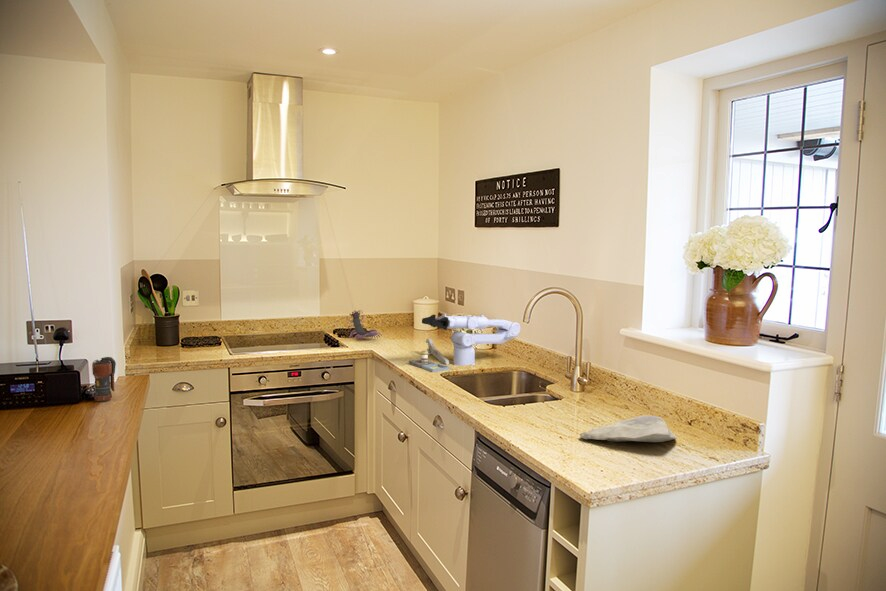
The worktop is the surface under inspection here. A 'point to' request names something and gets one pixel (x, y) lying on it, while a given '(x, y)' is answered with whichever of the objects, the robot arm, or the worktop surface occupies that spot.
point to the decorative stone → (633, 430)
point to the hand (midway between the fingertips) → (426, 322)
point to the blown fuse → (424, 357)
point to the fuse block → (419, 363)
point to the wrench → (436, 352)
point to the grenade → (103, 378)
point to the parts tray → (443, 367)
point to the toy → (360, 327)
